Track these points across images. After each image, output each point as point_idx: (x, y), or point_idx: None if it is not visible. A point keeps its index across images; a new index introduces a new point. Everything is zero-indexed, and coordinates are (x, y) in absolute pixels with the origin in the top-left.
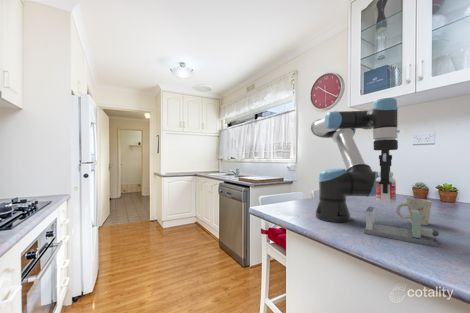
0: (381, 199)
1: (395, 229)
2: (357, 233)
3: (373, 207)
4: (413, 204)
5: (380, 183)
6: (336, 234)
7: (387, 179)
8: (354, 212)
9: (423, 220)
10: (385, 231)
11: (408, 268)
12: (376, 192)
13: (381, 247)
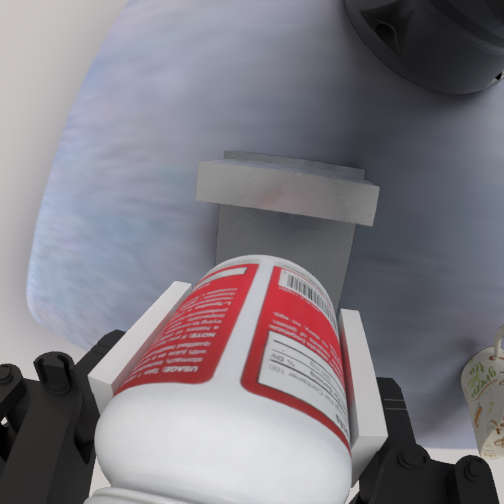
0: (165, 292)
1: None
2: (212, 122)
3: (357, 217)
4: (497, 410)
5: (51, 370)
6: (153, 53)
7: (2, 429)
8: None
9: (464, 390)
10: (244, 239)
11: (35, 257)
12: (216, 287)
13: (106, 210)
